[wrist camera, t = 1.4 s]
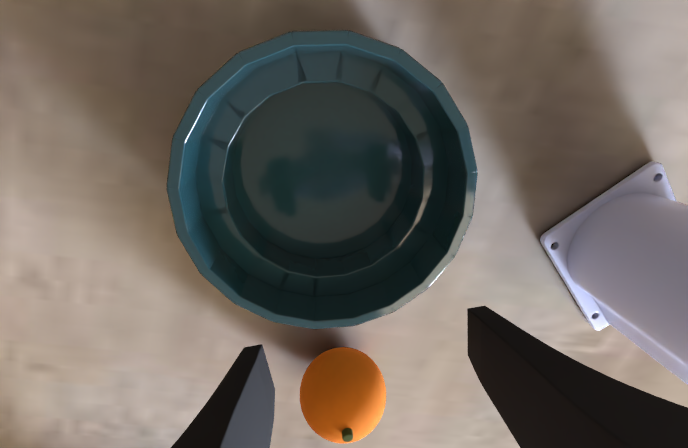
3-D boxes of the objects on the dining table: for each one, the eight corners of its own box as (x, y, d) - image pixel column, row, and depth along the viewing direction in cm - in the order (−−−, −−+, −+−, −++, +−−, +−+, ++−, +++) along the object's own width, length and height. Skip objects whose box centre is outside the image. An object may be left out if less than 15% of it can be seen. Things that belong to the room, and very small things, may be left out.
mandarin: (392, 363, 25) (414, 439, 19) (333, 402, 26) (339, 485, 20) (346, 316, 23) (357, 385, 18) (284, 359, 24) (277, 438, 18)
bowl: (477, 191, 21) (526, 221, 16) (309, 313, 23) (308, 370, 18) (344, -16, 16) (358, -59, 12) (150, 158, 18) (95, 181, 14)
